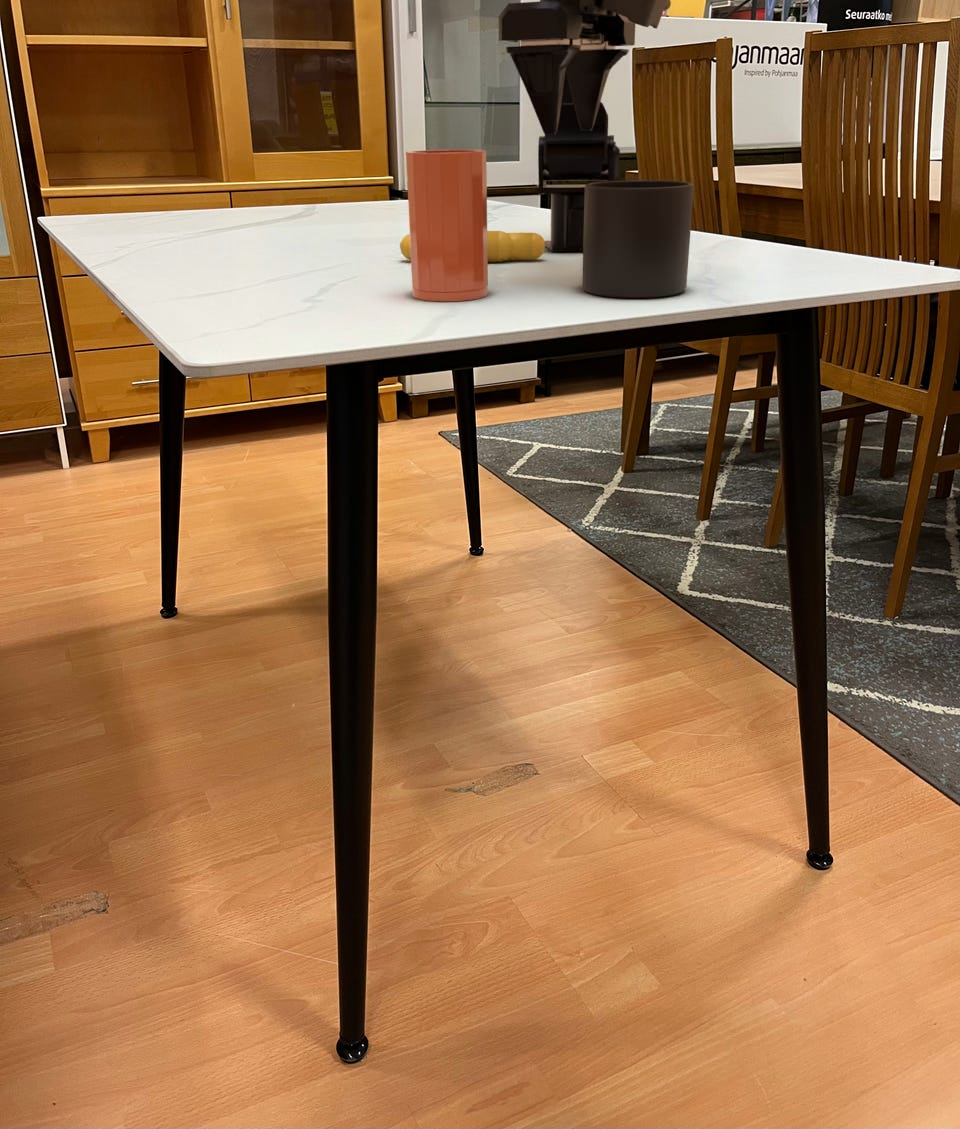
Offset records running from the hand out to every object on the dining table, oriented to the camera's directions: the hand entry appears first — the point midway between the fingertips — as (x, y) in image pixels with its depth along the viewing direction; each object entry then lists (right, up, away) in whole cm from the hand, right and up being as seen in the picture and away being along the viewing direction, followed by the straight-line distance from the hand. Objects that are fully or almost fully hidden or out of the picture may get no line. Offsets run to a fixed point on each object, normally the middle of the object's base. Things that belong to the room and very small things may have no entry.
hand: (569, 132), depth 90 cm
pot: (-11, -16, -3) cm, 20 cm away
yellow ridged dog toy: (-9, -7, +16) cm, 20 cm away
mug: (+6, -15, -1) cm, 16 cm away
